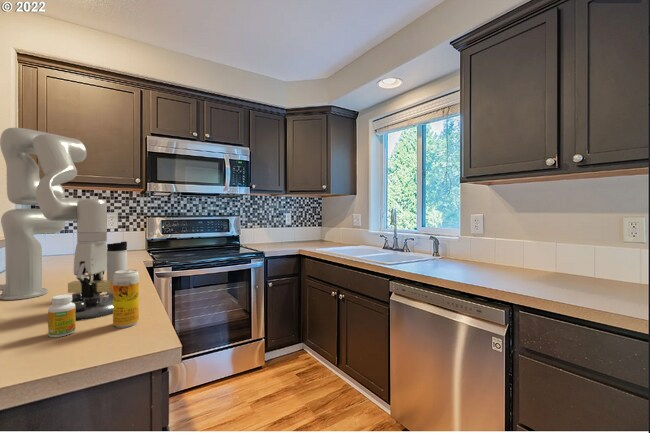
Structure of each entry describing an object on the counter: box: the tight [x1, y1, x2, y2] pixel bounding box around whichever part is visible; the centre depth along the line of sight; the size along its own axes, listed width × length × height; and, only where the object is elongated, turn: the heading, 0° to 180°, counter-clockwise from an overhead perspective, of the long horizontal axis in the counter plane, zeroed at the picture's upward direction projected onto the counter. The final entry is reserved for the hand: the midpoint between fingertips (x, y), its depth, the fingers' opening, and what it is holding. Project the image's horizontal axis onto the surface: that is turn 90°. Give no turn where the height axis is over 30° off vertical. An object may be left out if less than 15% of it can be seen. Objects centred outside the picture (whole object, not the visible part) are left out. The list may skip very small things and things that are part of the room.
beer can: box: [112, 268, 140, 329], centre depth 87 cm, size 6×6×15 cm
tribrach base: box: [71, 293, 113, 321], centre depth 98 cm, size 18×18×4 cm
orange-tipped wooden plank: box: [67, 279, 113, 305], centre depth 98 cm, size 13×4×7 cm, turn 99°
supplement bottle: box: [47, 293, 76, 338], centre depth 80 cm, size 5×5×10 cm
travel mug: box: [106, 241, 128, 296], centre depth 116 cm, size 6×7×20 cm
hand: (92, 294), depth 98 cm, fingers closed on orange-tipped wooden plank, 4 cm apart
